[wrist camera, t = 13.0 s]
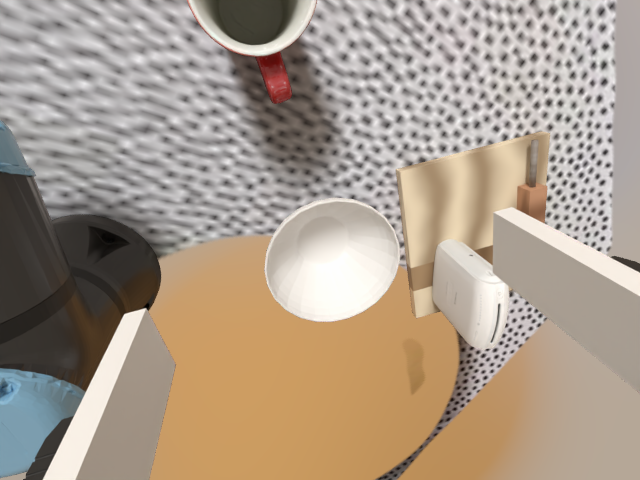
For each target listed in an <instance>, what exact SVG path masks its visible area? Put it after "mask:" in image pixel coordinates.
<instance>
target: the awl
mask: <svg viewBox="0 0 640 480" xmlns="http://www.w3.org/2000/svg"><path fill="white" fill-rule="evenodd" d="M538 144H539V140H531V153H530V171H529V183H527V184H523V185H520V186H518V187H517V210H519V211H521V212H523V213H525V214H527V215H528V216H530V217H532V218H534V219H536V220H538V221H540V222H542V223H544V222H545V210H546V198H547V186H544V185H542V184H539V183H537V182H536V174H537V159H538Z"/></svg>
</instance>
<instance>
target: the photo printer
mask: <svg viewBox="0 0 640 480" xmlns="http://www.w3.org/2000/svg"><path fill="white" fill-rule="evenodd" d="M432 297H433V301H434V303H435V304H436V306H437V307H438V308H439V309H440V310H441V312H442V313H443V314H444V315H445V316H446V318H447V319H448V320H449V321H450V323H451V324H452V325H453V326H454V327H455V329H456V330H457V331H458V332H459V334H460V335H461V336H462V337H463V338H464V339H465V341H466V342H467V343H468V344H470V345H471V346H473V347H475V348H477V349H481V350H485V349H488V348H491V349H492V348H494V347H495V346H496V344H497V343H498V342H499V340H500V338H501V336H502V334H503V331H504V328H505V325H506V321H507V315H508V308H509V287H508V285H507V284H506V283H504V282H503V281H502V280H501V279H499V278H498V277H497V276H496V275H495V274H493V265H491V264H490V263H489V262H487V261H486V260H485V259H483V258H482V257H481V256H480V255H478V254H477V253H476V252H474V251H473V250H472V249H471V248H469V247H468V246H467V245H466V244H464V243H463V242H458V241H457V240H454V239H448V240H445V241H443V242H441V243H440V244H439V245H438V246H437V249H436V253H435V261H434V272H433V287H432Z"/></svg>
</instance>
